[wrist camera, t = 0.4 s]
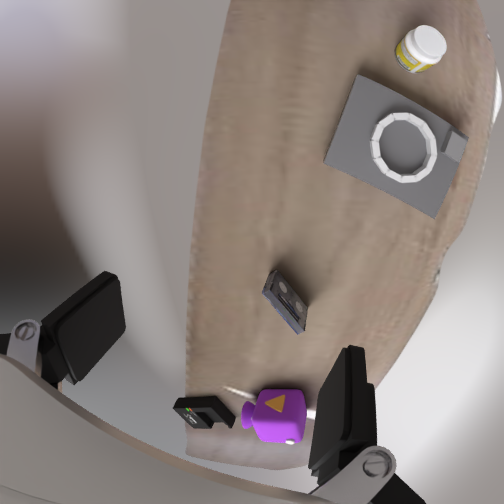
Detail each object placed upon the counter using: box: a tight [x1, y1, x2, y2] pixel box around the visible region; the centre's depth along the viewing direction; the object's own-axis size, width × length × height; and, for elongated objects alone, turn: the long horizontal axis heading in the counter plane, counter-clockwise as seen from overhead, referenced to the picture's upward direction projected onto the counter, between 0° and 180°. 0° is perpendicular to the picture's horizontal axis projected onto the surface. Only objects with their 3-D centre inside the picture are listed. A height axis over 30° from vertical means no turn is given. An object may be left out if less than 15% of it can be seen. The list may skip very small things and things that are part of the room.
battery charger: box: [173, 396, 236, 429], centre depth 61 cm, size 13×10×4 cm
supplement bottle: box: [395, 25, 447, 73], centre depth 21 cm, size 5×5×8 cm
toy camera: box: [241, 389, 307, 444], centre depth 50 cm, size 11×14×10 cm
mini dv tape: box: [262, 270, 308, 335], centre depth 40 cm, size 8×2×6 cm, turn 40°
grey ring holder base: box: [323, 74, 469, 219], centre depth 28 cm, size 12×16×5 cm
